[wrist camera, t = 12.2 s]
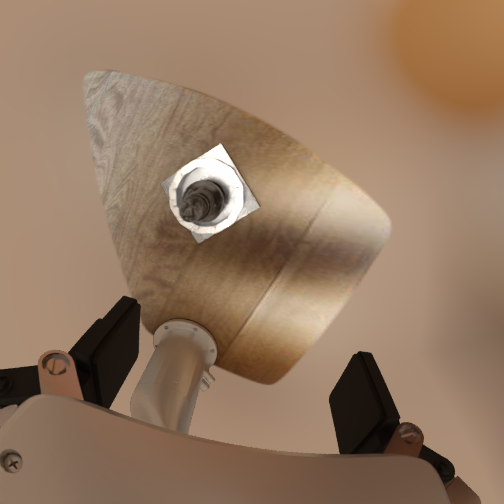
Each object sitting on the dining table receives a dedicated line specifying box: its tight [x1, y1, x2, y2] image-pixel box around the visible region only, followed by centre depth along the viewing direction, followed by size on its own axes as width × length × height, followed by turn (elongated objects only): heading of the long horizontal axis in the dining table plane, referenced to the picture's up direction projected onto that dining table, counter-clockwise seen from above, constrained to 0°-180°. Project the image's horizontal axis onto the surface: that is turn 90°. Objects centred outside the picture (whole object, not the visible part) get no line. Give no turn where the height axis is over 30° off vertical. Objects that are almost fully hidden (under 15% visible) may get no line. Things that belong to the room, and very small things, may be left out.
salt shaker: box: [179, 180, 225, 223], centre depth 35 cm, size 6×6×12 cm
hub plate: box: [161, 144, 260, 243], centre depth 40 cm, size 11×11×4 cm
